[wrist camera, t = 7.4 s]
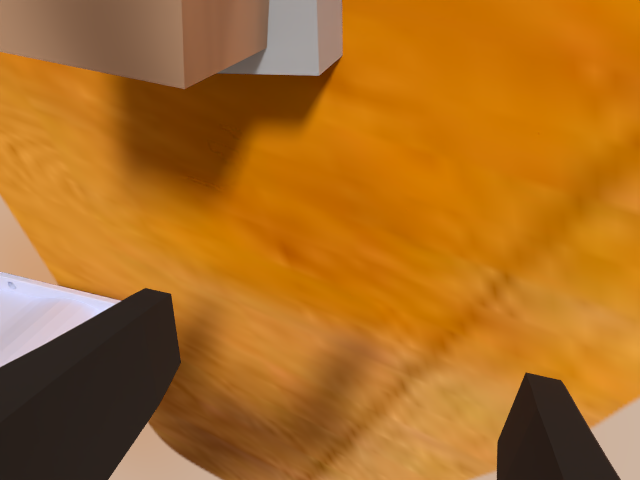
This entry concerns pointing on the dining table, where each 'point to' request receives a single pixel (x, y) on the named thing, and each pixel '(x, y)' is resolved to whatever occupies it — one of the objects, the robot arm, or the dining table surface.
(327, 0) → the slate plinth
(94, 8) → the walnut block
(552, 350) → the dining table surface
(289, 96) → the dining table surface
